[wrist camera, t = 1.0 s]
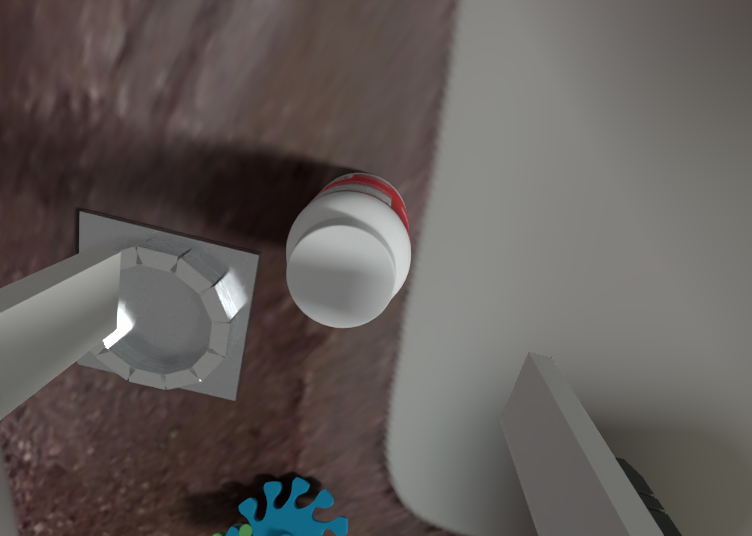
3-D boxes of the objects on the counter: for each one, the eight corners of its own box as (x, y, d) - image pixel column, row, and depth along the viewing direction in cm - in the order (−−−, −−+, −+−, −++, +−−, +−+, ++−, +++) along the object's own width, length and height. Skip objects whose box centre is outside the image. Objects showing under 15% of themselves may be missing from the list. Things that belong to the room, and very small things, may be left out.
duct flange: (85, 209, 30) (63, 216, 28) (261, 252, 30) (252, 262, 28) (82, 359, 34) (63, 375, 32) (237, 395, 34) (228, 413, 32)
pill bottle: (388, 275, 30) (383, 362, 20) (302, 245, 30) (252, 318, 19) (421, 190, 28) (436, 237, 18) (330, 156, 28) (290, 184, 17)
